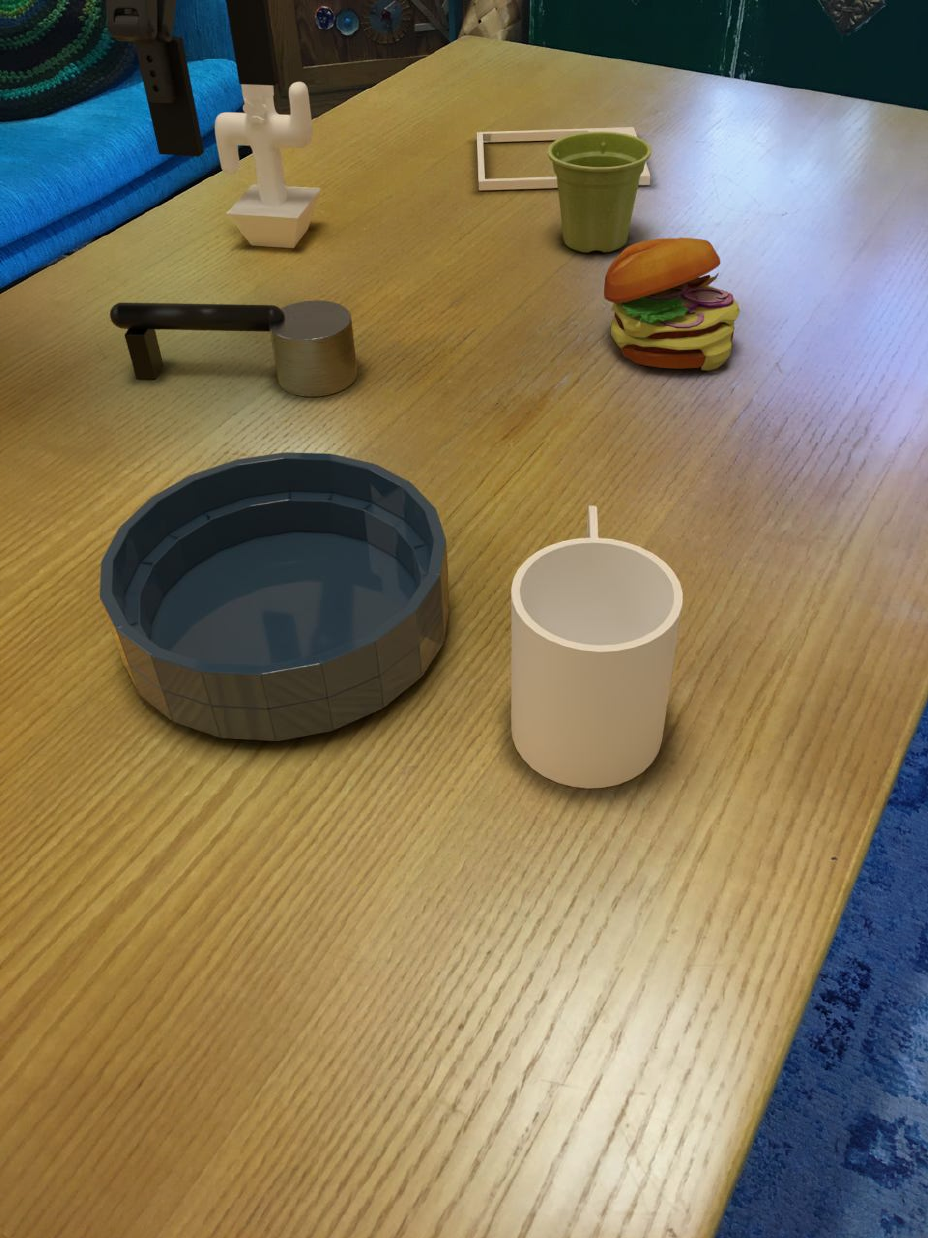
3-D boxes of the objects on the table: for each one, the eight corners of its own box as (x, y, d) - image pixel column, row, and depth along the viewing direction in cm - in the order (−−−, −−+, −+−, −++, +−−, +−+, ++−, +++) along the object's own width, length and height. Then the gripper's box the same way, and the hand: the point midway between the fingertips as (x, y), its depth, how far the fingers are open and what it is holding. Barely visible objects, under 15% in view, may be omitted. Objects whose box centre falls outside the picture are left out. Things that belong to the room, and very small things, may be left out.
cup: (652, 629, 63) (669, 493, 57) (667, 791, 55) (690, 653, 48) (515, 626, 64) (515, 491, 57) (508, 786, 55) (508, 649, 48)
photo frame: (650, 173, 111) (478, 179, 111) (649, 184, 112) (478, 190, 112) (633, 124, 122) (476, 130, 122) (633, 135, 122) (476, 140, 123)
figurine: (248, 219, 109) (220, 60, 99) (336, 224, 107) (317, 63, 97) (221, 249, 104) (189, 85, 93) (313, 256, 102) (291, 89, 92)
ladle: (363, 356, 88) (356, 288, 84) (350, 398, 83) (341, 328, 79) (139, 351, 90) (121, 284, 86) (113, 392, 85) (93, 323, 81)
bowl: (78, 740, 59) (46, 663, 54) (180, 521, 72) (160, 447, 68) (428, 759, 57) (421, 683, 53) (463, 531, 71) (460, 457, 67)
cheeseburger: (680, 395, 82) (668, 265, 76) (584, 373, 90) (567, 254, 84) (765, 348, 86) (759, 222, 81) (667, 331, 94) (655, 215, 89)
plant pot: (525, 242, 103) (526, 150, 97) (589, 212, 107) (593, 122, 102) (599, 271, 98) (605, 176, 92) (663, 239, 102) (672, 146, 97)
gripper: (106, -290, 47) (202, 192, 62) (293, -320, 65) (333, 60, 79) (-46, -286, 48) (84, 184, 63) (178, -317, 66) (239, 57, 80)
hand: (223, 116), depth 71 cm, fingers open, 13 cm apart
